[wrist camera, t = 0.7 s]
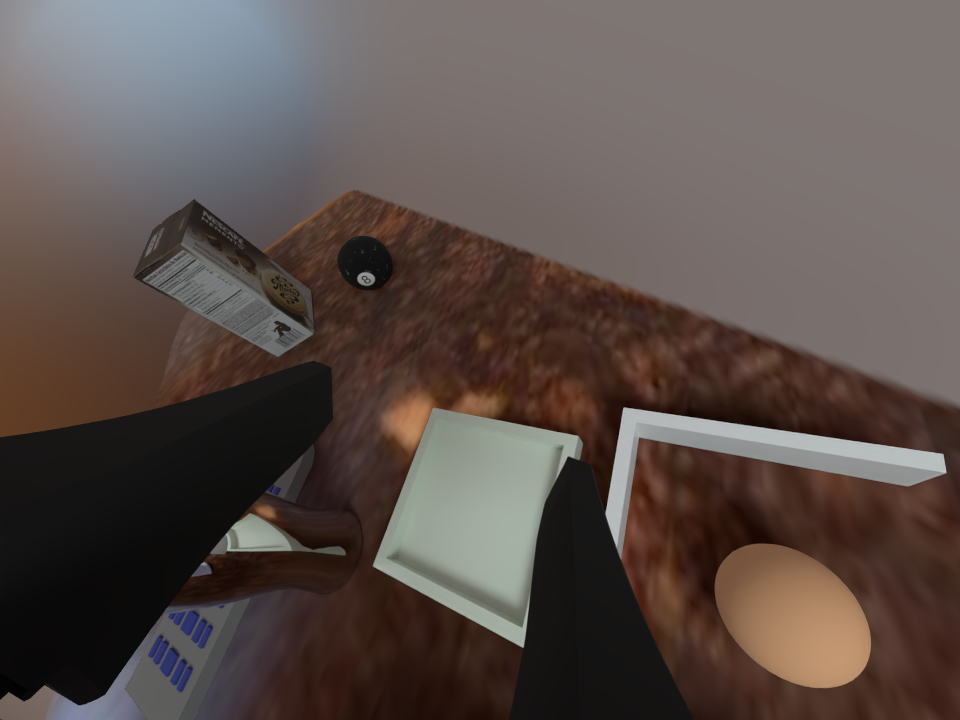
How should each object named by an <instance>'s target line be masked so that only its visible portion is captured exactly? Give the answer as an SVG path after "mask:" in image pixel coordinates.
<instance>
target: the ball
mask: <svg viewBox="0 0 960 720" xmlns="http://www.w3.org/2000/svg"><path fill="white" fill-rule="evenodd" d="M715 598H716V603H717V607H718V610H719V613H720V615H721V618H722V620H723V622H724V624H725V626H726V628H727V629H728V631H729V633H730V634H731V635H732V637H733V638H734V640H735V641H736V642H737V643H738V645H739V646H740V647H741V648H742V649H743V650H744V651H745V652H746V653H747V654H748V655H749V656H750V657H751V658H752V659H753V660H755V661H756V662H757V663H758V664H759V665H761V666H762V667H764V668H765V669H767V670H768V671H770V672H771V673H773V674H775V675H777V676H779V677H781V678H783V679H785V680H787V681H790V682H792V683H795V684H799V685H802V686H807V687H813V688H830V687H837V686H840V685H844V684H846V683H848V682H850V681H852V680H853V679H855V678H856V677H857V676H858V675H859V674H860V673H861V672H862V671H863V669H864V668H865V666H866V664H867V662H868V659H869V655H870V649H871V638H870V631H869V627H868V623H867V620H866V617H865V615H864V612H863V611H862V609H861V607H860V605H859V603H858V601H857V600H856V598H855V597H854V595H853V594H852V593H851V591H850V590H849V589H848V588H847V586H846V585H845V584H844V583H843V582H842V581H841V580H840V579H839V578H838V577H837V576H836V575H835V574H834V573H833V572H831V571H830V570H829V569H828V568H826V567H825V566H824V565H822V564H821V563H819V562H818V561H816V560H814V559H813V558H811V557H810V556H808V555H806V554H803V553H801V552H799V551H797V550H794V549H791V548H788V547H784V546H781V545H775V544H752V545H747V546H744V547H741V548H738V549H737V550H735V551H733V552H732V553H731V554H729V555H728V556H727V557H726V558H725V559H724V561H723V562H722V564H721V565H720V567H719V569H718V572H717V574H716V579H715Z"/></svg>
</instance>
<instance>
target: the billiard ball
mask: <svg viewBox="0 0 960 720" xmlns="http://www.w3.org/2000/svg"><path fill="white" fill-rule="evenodd" d="M338 267H339V270H340V272H341V274H342V276H343V277H344V279H345V280H346V281H347V282H348V283H349V284H351V285H352V286H354V287H356V288H358V289H362V290H371V289H375V288H378V287H380V286H381V285H383V284H384V283H385V282H386V281H387V280H388V278H389V276H390V274H391V271H392V260H391V257H390V254H389V252H388V251H387V249H386V248H385V246H384V245H383V244H382V243H380V242H379V241H378V240H376V239H374V238H372V237H368V236H358V237H354V238H352V239H350V240H348V241H347V242H346V243H345V244H344V245H343V246H342V248H341V249H340V251H339V254H338Z"/></svg>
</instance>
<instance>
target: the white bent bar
mask: <svg viewBox="0 0 960 720" xmlns="http://www.w3.org/2000/svg"><path fill="white" fill-rule="evenodd" d="M639 437H640V438H646V439H651V440H656V441H662V442H667V443H673V444H678V445H684V446H689V447H695V448H700V449H706V450H711V451H717V452H722V453H728V454H733V455H739V456H744V457H750V458H755V459H760V460H766V461H771V462H777V463H782V464H788V465H793V466H799V467H804V468H810V469H815V470H821V471H826V472H832V473H837V474H843V475H848V476H854V477H859V478H864V479H870V480H875V481H881V482H886V483H892V484H897V485H903V486H911V485H914V484H916V483H919V482H922V481H925V480H928V479H931V478H933V477H936V476H939V475H942V474H945V473H946V468H945V462H944V456H943V454H938V453H932V452H925V451H918V450H911V449H904V448H897V447H891V446H884V445H877V444H870V443H863V442H856V441H850V440H843V439H836V438H829V437H822V436H815V435H809V434H802V433H795V432H788V431H781V430H774V429H768V428H761V427H754V426H747V425H740V424H733V423H727V422H720V421H713V420H706V419H699V418H692V417H686V416H679V415H672V414H665V413H658V412H651V411H645V410H638V409H631V408H623V414H622V420H621V426H620V432H619V438H618V443H617V449H616V455H615V461H614V467H613V473H612V479H611V485H610V491H609V497H608V503H607V509H606V518H607V521H608V524H609V527H610V530H611V533H612V536H613V539H614V542H615V544H616V547H617V550H618V553H619V556H620V559H621V556H622V550H623V543H624V536H625V529H626V522H627V515H628V509H629V502H630V495H631V488H632V481H633V474H634V468H635V461H636V454H637V447H638V440H639Z"/></svg>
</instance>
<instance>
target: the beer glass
mask: <svg viewBox="0 0 960 720" xmlns="http://www.w3.org/2000/svg"><path fill="white" fill-rule="evenodd" d="M361 548H362V531H361V526H360V523H359V521H358V519H357V518H356V516H355V515H354V514H353V513H352V512H350V511H348V510H346V509H341V508H333V509H311V508H307V507H303V506H300V505H298V504H296V503H293V502H291V501H289V500H286V499H284V498H282V497H280V496H278V495H275V494H273V493H271V492H268V491H266V492H265V493H264V494H263V495H262V496H261V497H260V498H259V499H258V500H257V501H256V502H255V503H254V504H253V505H252V506H251V507H250V508H249V509H248V510H247V511H246V512H245V513H244V514H243V515H242V516H241V517H240V518H239V519H238V521H237V522H236V523H235V524H234V525H233V526H232V528H231V529H230V530H229V531H228V532H227V534H226V535H225V536H224V537H223V538H222V539H221V541H220V542H219V543H218V544H217V545H216V547H215V548H214V549H213V550H212V551H211V553H210V554H209V555H208V556H207V558H206V559H205V560H204V561H203V563H202V564H201V565H200V566H199V568H198V569H197V570H196V571H195V572H194V574H193V575H192V576H191V577H190V579H189V580H188V581H187V582H186V584H185V585H184V586H183V587H182V589H181V590H180V591H179V593H178V594H177V595H176V597H175V598H174V599H173V601H172V602H171V603H170V605H169V606H168V607H167V609H166V610H165V611H164V613H163V614H172V613H181V612H189V611H197V610H202V609H207V608H212V607H216V606H221V605H225V604H229V603H233V602H237V601H241V600H244V599H248V598H252V597H255V596H259V595H262V594H266V593H270V592H274V591H278V590H286V589H297V590H303V591H307V592H311V593H316V594H327V593H331V592H333V591H335V590H337V589H338V588H340V587H341V586H342V585H343V584H344V583H345V582H346V581H347V580H348V579H349V578H350V576H351V575H352V573H353V571H354V570H355V568H356V565H357V563H358V560H359V557H360V553H361Z"/></svg>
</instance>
